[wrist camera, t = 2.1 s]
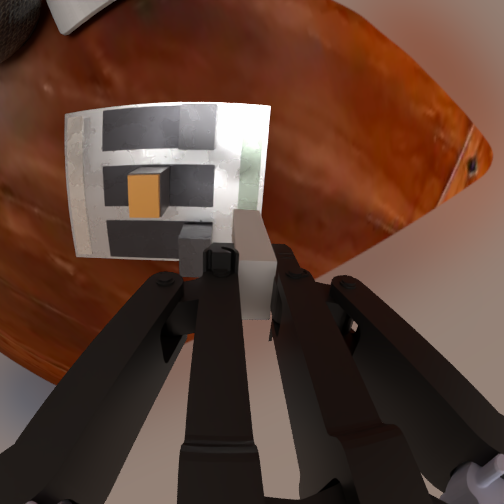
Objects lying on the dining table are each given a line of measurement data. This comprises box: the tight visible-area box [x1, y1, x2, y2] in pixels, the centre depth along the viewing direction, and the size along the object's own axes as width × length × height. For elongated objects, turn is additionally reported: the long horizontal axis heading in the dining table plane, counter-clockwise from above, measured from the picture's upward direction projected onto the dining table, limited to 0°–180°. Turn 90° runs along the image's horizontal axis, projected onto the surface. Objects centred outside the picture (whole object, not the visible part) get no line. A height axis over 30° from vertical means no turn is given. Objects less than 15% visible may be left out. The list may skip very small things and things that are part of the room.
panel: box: [65, 102, 271, 277], centre depth 26 cm, size 22×17×6 cm
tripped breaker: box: [128, 166, 170, 218], centre depth 24 cm, size 3×4×4 cm
